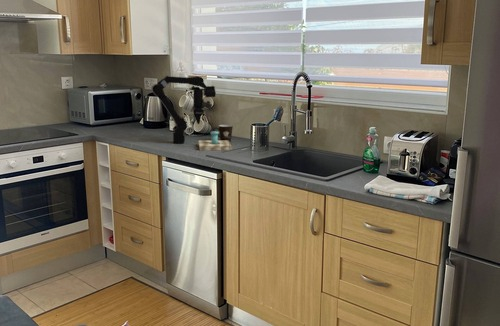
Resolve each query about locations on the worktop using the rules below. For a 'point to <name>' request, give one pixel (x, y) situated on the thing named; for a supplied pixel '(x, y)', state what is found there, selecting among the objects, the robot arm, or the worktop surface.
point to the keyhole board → (214, 145)
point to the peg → (214, 137)
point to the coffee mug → (225, 132)
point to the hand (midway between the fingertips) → (198, 122)
